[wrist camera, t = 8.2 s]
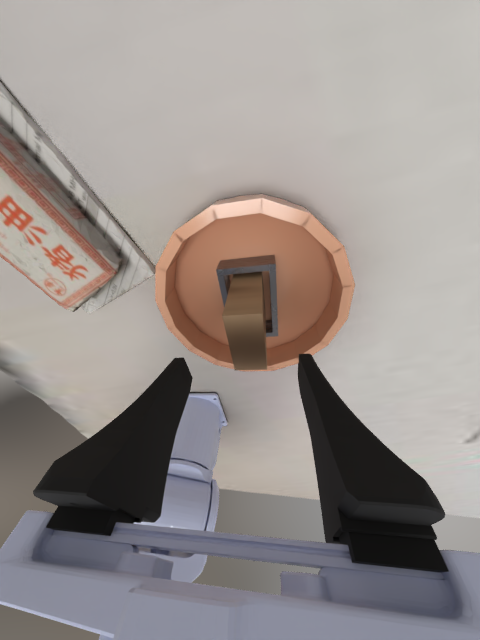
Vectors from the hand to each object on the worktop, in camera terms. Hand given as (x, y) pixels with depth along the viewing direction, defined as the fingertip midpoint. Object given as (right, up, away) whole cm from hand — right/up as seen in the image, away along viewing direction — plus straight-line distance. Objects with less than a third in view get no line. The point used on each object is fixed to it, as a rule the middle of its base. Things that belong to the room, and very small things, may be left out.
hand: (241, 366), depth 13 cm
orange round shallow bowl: (+1, +6, +7) cm, 9 cm away
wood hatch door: (+1, +5, +6) cm, 8 cm away
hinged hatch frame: (+1, +5, +6) cm, 8 cm away
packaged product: (-17, +13, +5) cm, 21 cm away
